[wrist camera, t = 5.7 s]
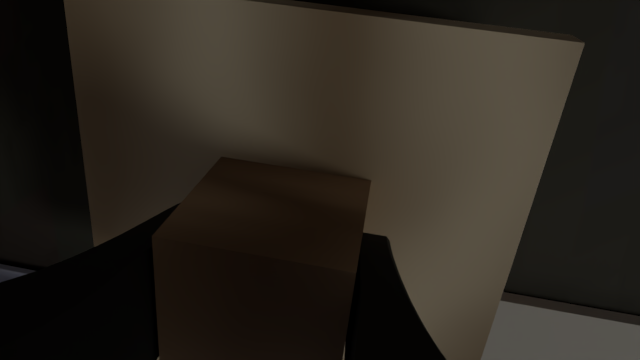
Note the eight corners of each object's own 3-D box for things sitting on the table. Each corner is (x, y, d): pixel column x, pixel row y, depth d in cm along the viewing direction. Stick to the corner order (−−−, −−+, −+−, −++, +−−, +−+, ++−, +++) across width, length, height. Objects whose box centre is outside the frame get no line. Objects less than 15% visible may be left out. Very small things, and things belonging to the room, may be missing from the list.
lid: (121, 330, 18) (28, 457, 14) (85, -26, 13) (-90, -8, 8) (457, 397, 17) (474, 561, 12) (571, 35, 12) (672, 94, 7)
